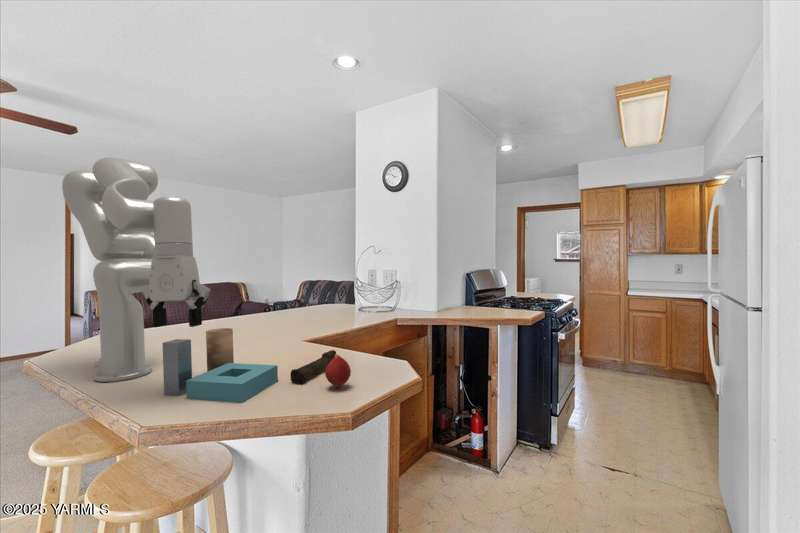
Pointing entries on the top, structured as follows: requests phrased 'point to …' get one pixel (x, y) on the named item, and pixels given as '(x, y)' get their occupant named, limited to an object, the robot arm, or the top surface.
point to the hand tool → (312, 368)
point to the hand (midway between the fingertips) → (177, 325)
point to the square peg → (176, 366)
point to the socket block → (232, 382)
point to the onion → (338, 371)
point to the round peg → (219, 347)
